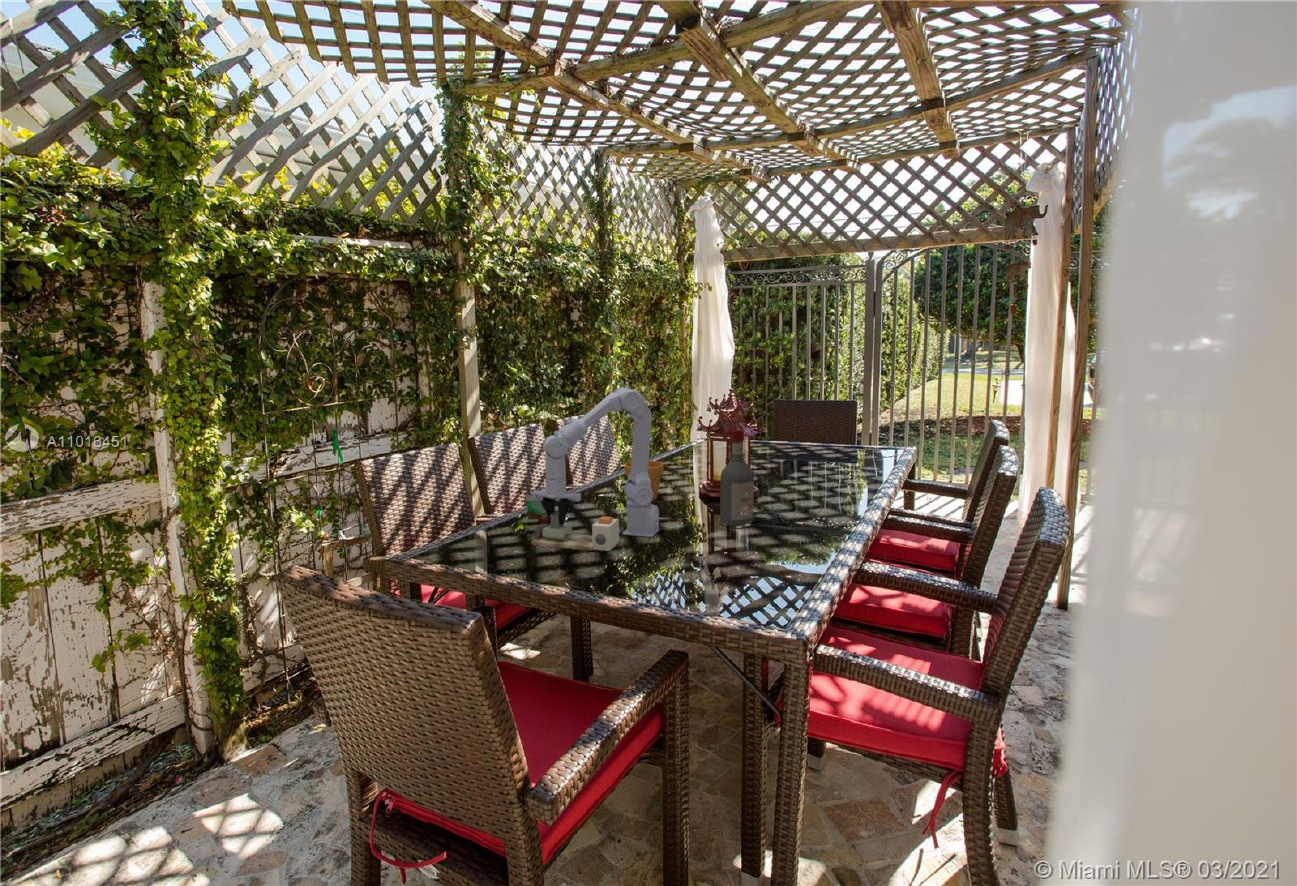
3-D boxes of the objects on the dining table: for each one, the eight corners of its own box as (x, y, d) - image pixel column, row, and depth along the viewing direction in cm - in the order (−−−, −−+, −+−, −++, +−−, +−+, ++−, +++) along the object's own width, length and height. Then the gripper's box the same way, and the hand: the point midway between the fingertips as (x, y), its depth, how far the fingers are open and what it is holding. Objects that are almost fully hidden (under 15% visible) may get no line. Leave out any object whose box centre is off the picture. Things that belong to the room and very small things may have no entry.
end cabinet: (618, 542, 193) (618, 519, 192) (608, 551, 185) (608, 527, 184) (602, 541, 195) (602, 517, 194) (592, 549, 187) (591, 525, 186)
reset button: (612, 524, 190) (612, 517, 190) (608, 527, 187) (608, 519, 187) (602, 523, 191) (602, 516, 191) (598, 526, 188) (598, 519, 188)
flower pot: (621, 502, 239) (620, 467, 237) (629, 493, 253) (628, 459, 251) (660, 504, 237) (660, 468, 235) (666, 494, 250) (666, 460, 248)
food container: (545, 526, 210) (544, 495, 208) (526, 525, 211) (525, 494, 210) (558, 516, 222) (557, 486, 220) (540, 515, 223) (539, 486, 221)
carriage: (571, 533, 197) (571, 510, 196) (562, 540, 190) (561, 517, 189) (553, 532, 198) (552, 509, 197) (542, 539, 192) (542, 515, 191)
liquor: (757, 525, 210) (759, 430, 205) (735, 530, 205) (736, 433, 200) (737, 518, 217) (739, 427, 213) (716, 523, 212) (717, 429, 208)
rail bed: (604, 540, 196) (603, 526, 195) (591, 550, 186) (591, 536, 186) (546, 534, 201) (545, 522, 200) (531, 544, 192) (530, 531, 191)
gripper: (526, 479, 190) (528, 525, 192) (573, 482, 186) (574, 529, 188) (537, 474, 196) (539, 518, 199) (583, 476, 192) (584, 522, 194)
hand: (557, 523), depth 194 cm, fingers closed on carriage, 2 cm apart
